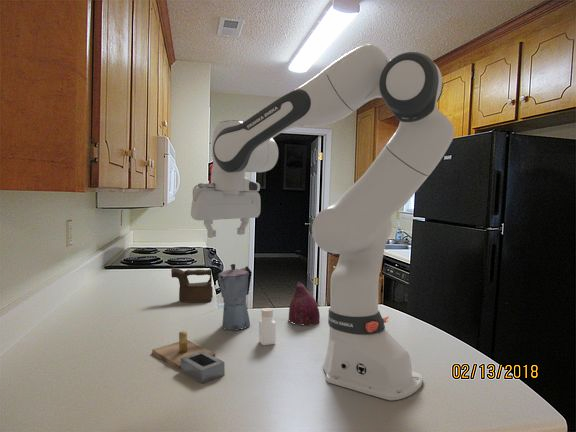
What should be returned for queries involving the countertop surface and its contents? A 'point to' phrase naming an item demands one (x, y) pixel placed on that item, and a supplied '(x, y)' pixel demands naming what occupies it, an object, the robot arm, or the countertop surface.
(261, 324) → the pepper shaker
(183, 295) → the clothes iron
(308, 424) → the countertop surface
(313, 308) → the vegetable
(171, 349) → the keeper
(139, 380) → the countertop surface
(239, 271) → the moka pot
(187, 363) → the link
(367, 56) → the robot arm
